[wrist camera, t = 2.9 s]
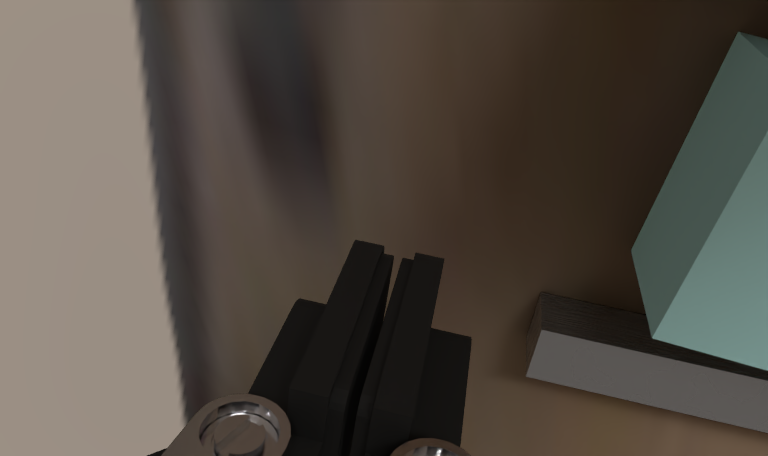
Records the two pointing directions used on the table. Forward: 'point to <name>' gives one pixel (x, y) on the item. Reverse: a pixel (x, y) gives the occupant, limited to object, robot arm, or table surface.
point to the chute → (639, 364)
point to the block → (715, 221)
